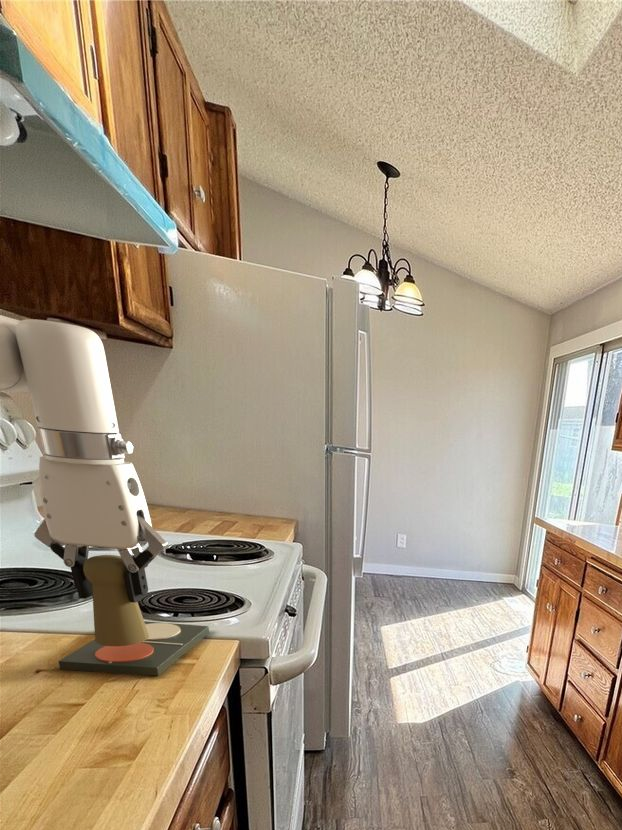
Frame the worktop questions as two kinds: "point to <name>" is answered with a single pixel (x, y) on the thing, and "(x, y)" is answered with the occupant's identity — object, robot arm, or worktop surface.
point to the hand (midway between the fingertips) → (113, 596)
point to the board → (138, 651)
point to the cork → (113, 603)
